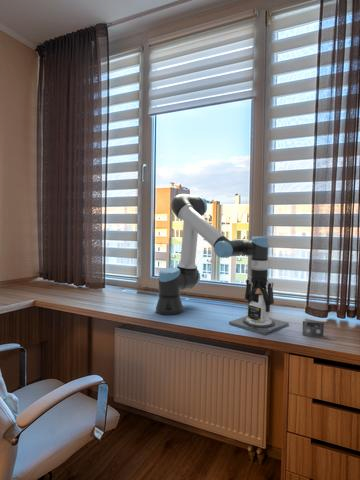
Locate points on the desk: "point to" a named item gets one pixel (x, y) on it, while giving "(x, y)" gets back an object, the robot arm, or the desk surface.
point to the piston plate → (259, 325)
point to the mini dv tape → (313, 328)
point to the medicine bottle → (257, 308)
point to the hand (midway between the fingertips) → (258, 316)
